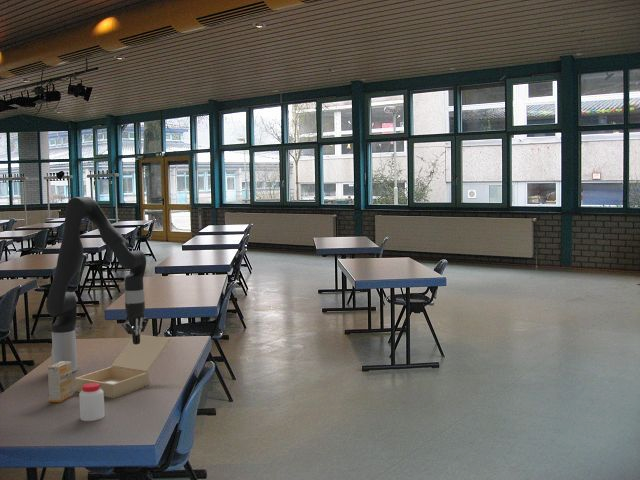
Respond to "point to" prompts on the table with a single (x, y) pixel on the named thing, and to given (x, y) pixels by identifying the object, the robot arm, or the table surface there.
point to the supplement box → (60, 381)
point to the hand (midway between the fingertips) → (136, 343)
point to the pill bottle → (91, 402)
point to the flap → (141, 353)
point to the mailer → (114, 380)
